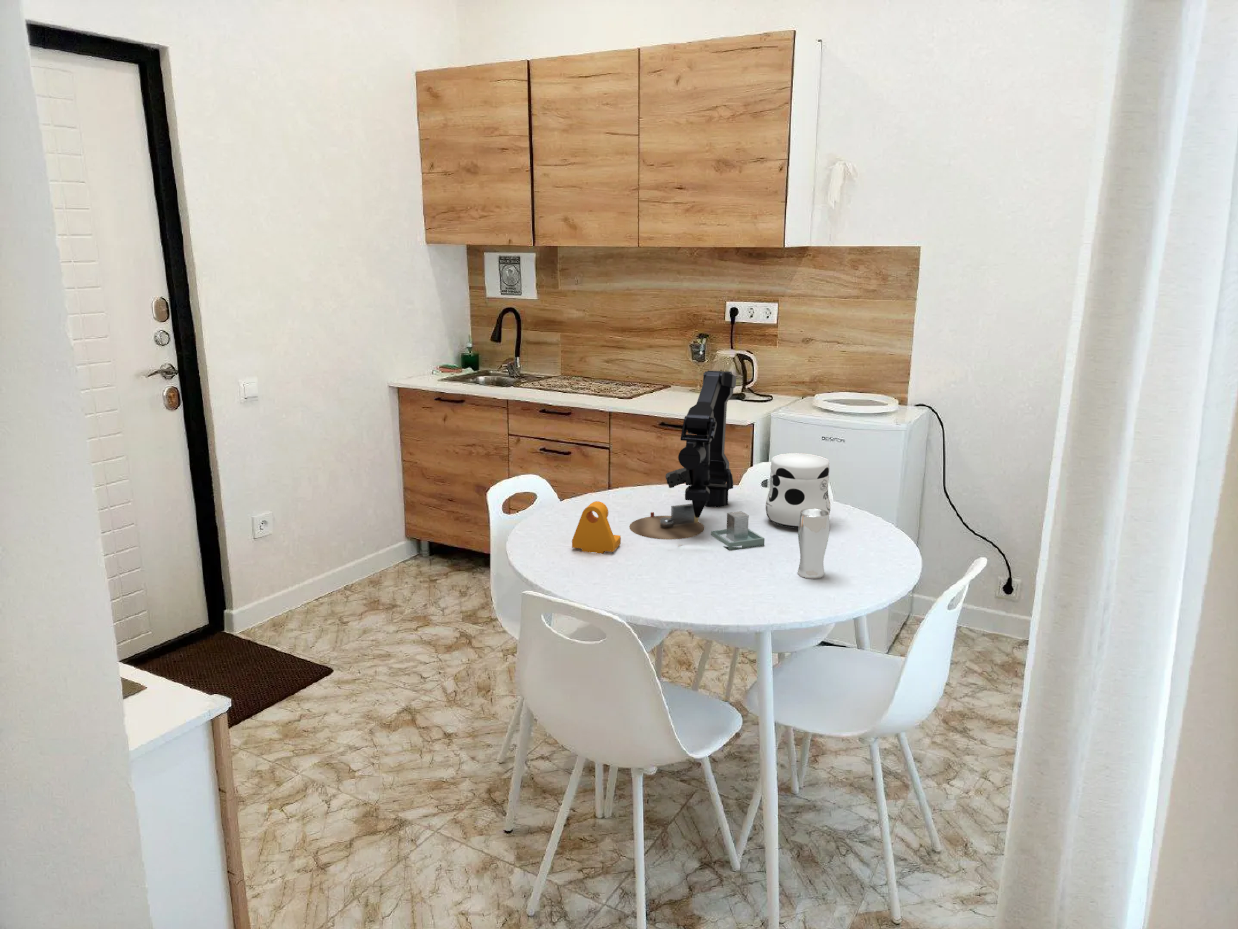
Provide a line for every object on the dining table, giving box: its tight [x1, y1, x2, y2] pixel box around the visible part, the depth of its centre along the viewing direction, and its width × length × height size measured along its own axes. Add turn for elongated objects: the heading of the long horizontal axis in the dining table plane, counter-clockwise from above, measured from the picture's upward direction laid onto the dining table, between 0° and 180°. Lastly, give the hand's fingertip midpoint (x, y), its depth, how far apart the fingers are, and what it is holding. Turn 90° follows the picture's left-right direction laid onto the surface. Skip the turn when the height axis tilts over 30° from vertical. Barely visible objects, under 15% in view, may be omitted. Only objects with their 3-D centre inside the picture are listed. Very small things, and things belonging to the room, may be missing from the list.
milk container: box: [765, 452, 831, 529], centre depth 236 cm, size 17×17×18 cm
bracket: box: [571, 500, 622, 554], centre depth 217 cm, size 11×7×12 cm, turn 73°
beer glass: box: [797, 508, 830, 580], centre depth 200 cm, size 7×7×15 cm
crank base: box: [629, 511, 705, 541], centre depth 232 cm, size 20×20×2 cm
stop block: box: [725, 510, 749, 542], centre depth 222 cm, size 4×4×7 cm
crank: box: [660, 503, 699, 527], centre depth 232 cm, size 11×4×5 cm, turn 111°
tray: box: [710, 528, 766, 552], centre depth 223 cm, size 10×10×2 cm
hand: (697, 517), depth 230 cm, fingers closed
